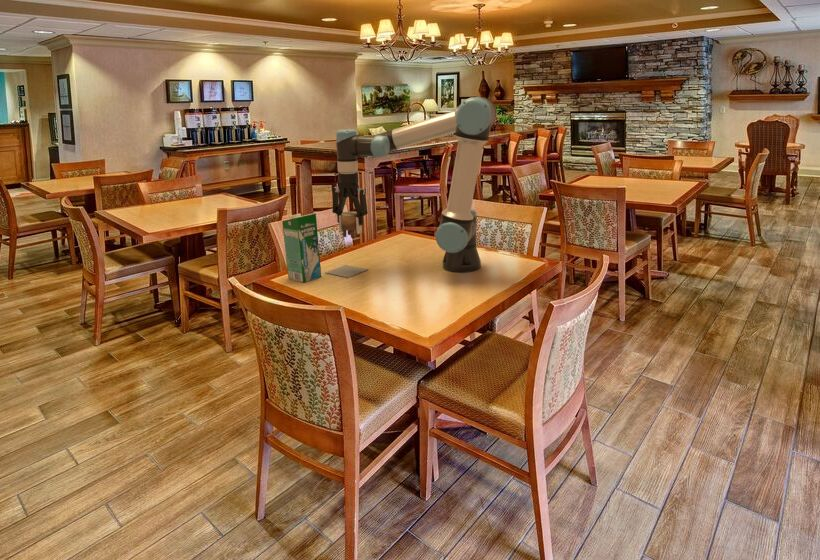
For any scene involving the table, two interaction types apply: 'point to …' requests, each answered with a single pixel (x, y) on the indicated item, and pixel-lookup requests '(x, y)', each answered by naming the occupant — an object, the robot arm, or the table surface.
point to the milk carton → (302, 247)
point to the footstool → (349, 223)
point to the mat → (346, 271)
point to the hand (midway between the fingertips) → (350, 232)
